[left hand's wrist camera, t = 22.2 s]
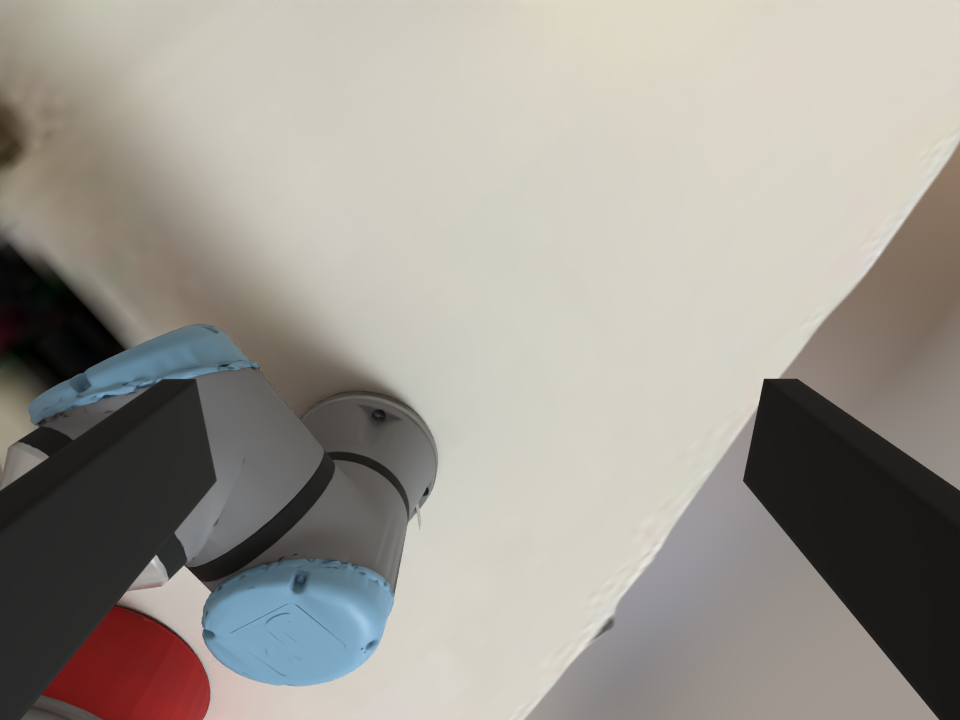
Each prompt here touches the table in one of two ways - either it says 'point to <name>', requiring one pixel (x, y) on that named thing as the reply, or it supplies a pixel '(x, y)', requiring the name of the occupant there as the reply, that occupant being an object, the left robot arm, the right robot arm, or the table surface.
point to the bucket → (127, 676)
